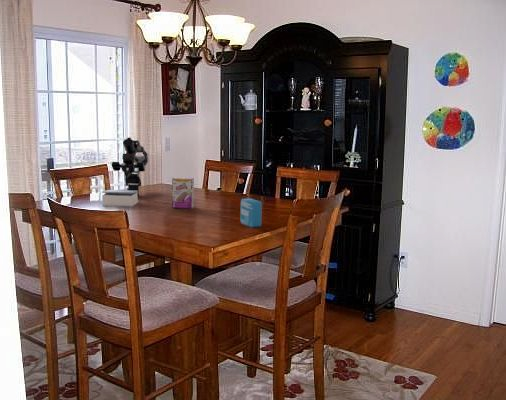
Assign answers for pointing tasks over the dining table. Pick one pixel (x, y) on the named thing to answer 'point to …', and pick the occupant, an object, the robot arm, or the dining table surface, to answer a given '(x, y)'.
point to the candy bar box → (182, 192)
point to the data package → (251, 212)
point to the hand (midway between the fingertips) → (126, 177)
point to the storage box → (119, 199)
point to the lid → (119, 191)
